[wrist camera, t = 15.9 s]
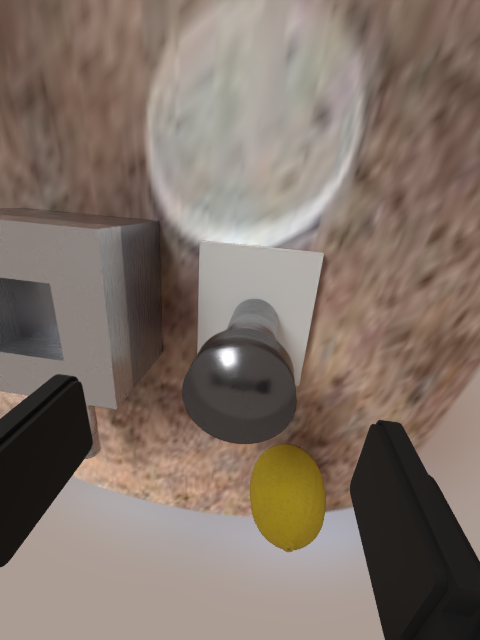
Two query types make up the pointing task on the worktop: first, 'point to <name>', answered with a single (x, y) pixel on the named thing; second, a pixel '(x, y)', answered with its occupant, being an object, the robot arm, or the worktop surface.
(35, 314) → the block
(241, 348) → the dark gray knob
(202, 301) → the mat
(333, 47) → the worktop surface
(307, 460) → the lemon
